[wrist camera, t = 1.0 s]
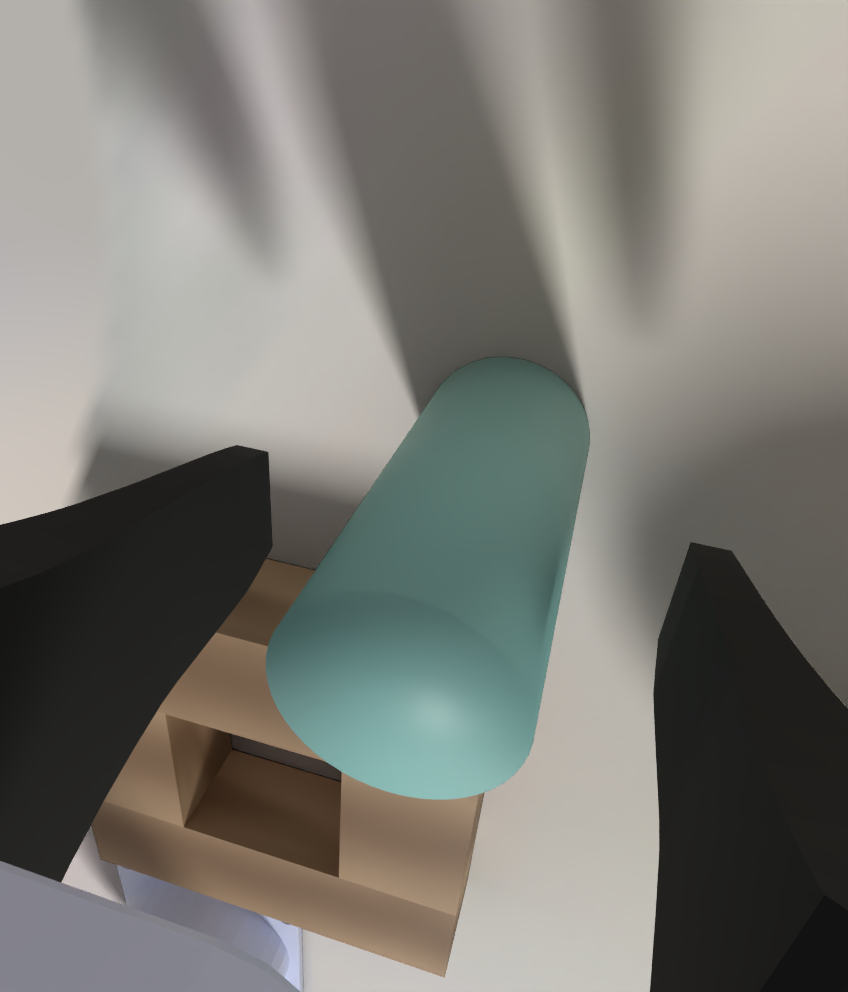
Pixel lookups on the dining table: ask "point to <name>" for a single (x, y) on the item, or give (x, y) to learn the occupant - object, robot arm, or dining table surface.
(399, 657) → the peg
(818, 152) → the dining table surface
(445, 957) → the socket block
